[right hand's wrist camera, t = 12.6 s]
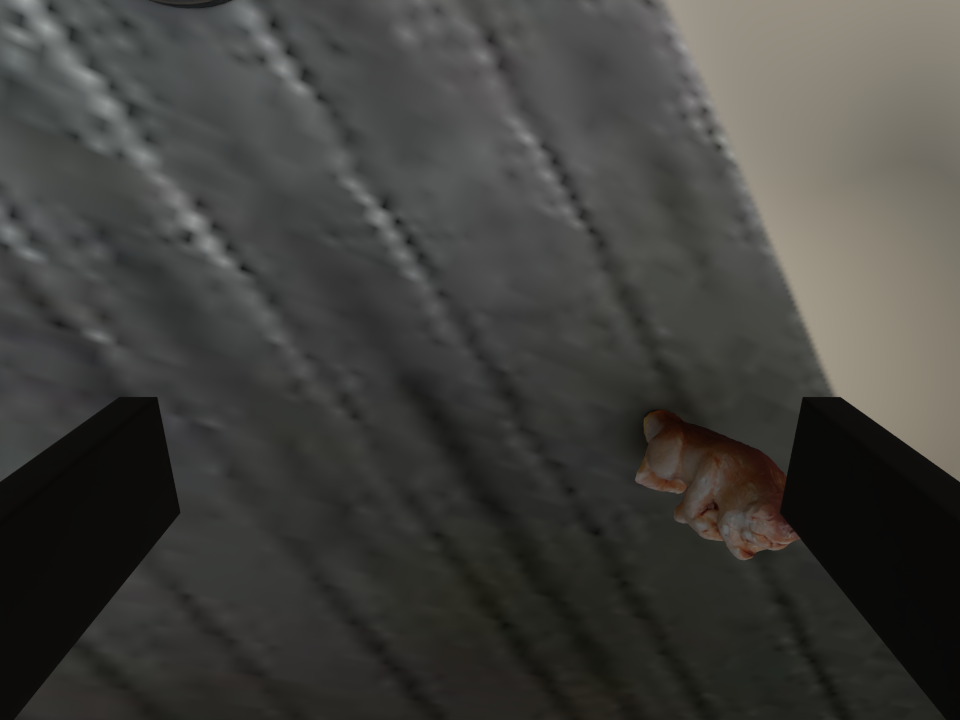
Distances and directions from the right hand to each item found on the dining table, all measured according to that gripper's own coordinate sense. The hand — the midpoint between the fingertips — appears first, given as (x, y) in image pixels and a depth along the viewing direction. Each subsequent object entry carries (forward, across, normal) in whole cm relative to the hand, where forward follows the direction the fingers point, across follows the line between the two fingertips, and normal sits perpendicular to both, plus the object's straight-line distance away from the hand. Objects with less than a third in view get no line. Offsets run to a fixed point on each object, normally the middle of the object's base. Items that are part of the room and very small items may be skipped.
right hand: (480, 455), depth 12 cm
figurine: (+31, +15, -15) cm, 37 cm away
